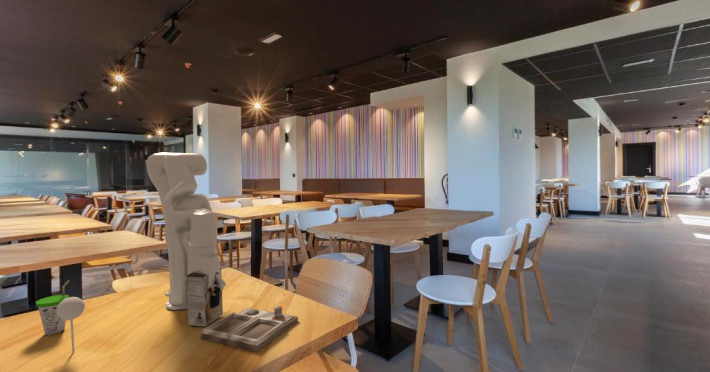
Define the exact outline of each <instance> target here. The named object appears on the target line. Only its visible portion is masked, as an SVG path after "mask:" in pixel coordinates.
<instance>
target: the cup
mask: <svg viewBox="0 0 710 372" xmlns="http://www.w3.org/2000/svg"><path fill="white" fill-rule="evenodd" d="M69 283H70V280H66V282H65V283H64V284H63V285H62V287H61V292H62V293H61V294H55V295H51V296H47V297H46V296H45V297H43V298H40V299H38V300H37V301H35V307H37V308H38V311H39V316H40V320H41V325H42V327H43V331H44V335H45V334H46V335H51V336H53V335H52V334H56V333H59V332H61V331H63V330H64V331H65V329H66V328H65V327H66V322H67V320H63V319H61V318H59V316H58V315H57V313H56V309H57V307H58V305H59V304H60V302H62V301H63V300H64V299H66V298H69V297H70V295H69V294H66V293H65V291H66V290H65V287H66V286H67V285H68V284H69ZM64 331H63V332H64ZM61 333H62V332H61ZM59 334H60V333H59ZM46 335H45V336H46ZM56 335H57V334H56Z"/></svg>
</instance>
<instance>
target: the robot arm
mask: <svg viewBox="0 0 710 372" xmlns="http://www.w3.org/2000/svg"><path fill="white" fill-rule="evenodd" d="M146 170H147V171H146V172H147V174H148V177H149V180H150V181H151V183H152V184H153V186H154V187H155V189H156V190H157V193H158V196H159V199H160V203H161V212H162V217H163V220H164V224H165V225H164V230H163V231H164V237H165V240H166V246H167V253H168V255H167V256H168V270H169V271H168V274H169V289H168V292H165V293H164V296H165V297H168V300H167V301H166V303H165V308H166V309H168V310H171V311H182V310H188V293H187V275H188V274H190V273H198V274H202V275H207V288H208V289H209V288H210V292H211V295H212V296H210V307H211V308H214V307H216V306H218V305H219V293H221V291H222V292H223V290H224V288H225V286H226V284H227V283H226V281H225V280H224V279H223V278H222V270H221V271H220V268H221V264H220V258H219V257H220V256H219V254H218V249H217V248H218V245H217V244H218V243H217V234H218V226H217V225H218V224H217V216H216V213H215V212H214V211H213V210H212V207H211V204H210V201H209V199H208V198H207V196H205V195H204V194H202V193H195V192H196V191H197V189H198V183H197V180H196V178H195V176H204V175H205V174H206V172H207V170H208V163H207V160H206V158H205V156H203V154H201V153H193V152H192V153H187V152H185V153H184V152H183V153H182V152H158V153H157V152H156V153H153V154H151V155H149V156H148V158H147V160H146ZM208 281H209V282H208ZM214 282H215V285H214ZM218 284H219V285H218ZM213 287H215V289H216V290H215V291H214V288H213Z"/></svg>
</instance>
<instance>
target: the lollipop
mask: <svg viewBox="0 0 710 372" xmlns="http://www.w3.org/2000/svg"><path fill="white" fill-rule="evenodd" d="M85 308H86V304H85V301H84V300H83V299H81V298H80V297H77V296H69V298H66V299H64V300H63V301H62V302H60V304H59V305H58V307H57V309H56V313H57V315H58V316H59V318H61V319H63V320H66V321H70V334H71V335H70V336H71V351H72V352H73V353H75V337H74V324H73V323H74V321H73V320H75V319H77V318H79V317H80V316H81V315H82V314H83V313H84V311H85ZM72 352H71V353H72Z"/></svg>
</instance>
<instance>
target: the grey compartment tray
mask: <svg viewBox="0 0 710 372" xmlns="http://www.w3.org/2000/svg"><path fill="white" fill-rule="evenodd" d="M273 310H274V311H269V310H263V309H256V308H251V307H247V308H245V309H243V310H241V311H239V312H232V313H230V314H228V315H226V316H224V317H222V318H220V319H219V320H217V321H215V322H212V323H210V324H209V325H207V326H206V327H204V328H202V329H201V333H200V339H201V340H203V341H208V342H211V343H217V344H219V345H220V344H221V345H224V346H229V347H233V348H237V349H242V350H245V351H246V350H247V351H250V352H255V353H258V352H260V351H261V350H262V349H263V348H264V347H266V346H268V345H269V344H270V343H271V342H273V340H275V339H276V338H278V337H279V336H281V334H283V333H284V332H286V331H287V330H289V329H290V328H291V327H292V326H294V325H295V324H296V323H298V322H299V317H298V315H297V316H296V315H291V314H284V313H283V307H282V306H281V305H277V306H274V307H273Z"/></svg>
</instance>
